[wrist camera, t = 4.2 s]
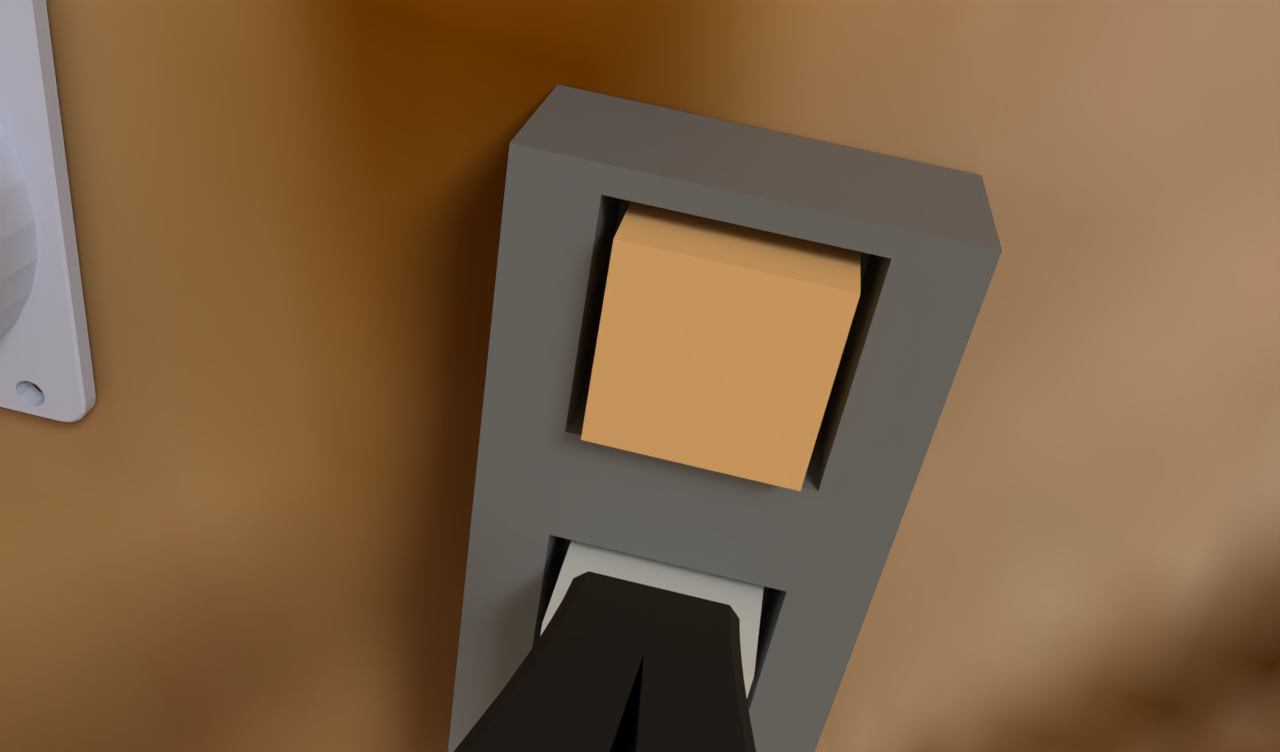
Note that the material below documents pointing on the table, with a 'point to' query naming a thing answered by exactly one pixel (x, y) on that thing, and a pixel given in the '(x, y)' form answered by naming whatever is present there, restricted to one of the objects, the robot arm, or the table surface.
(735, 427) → the orange key
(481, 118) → the table surface
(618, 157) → the grey button panel
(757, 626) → the grey key
